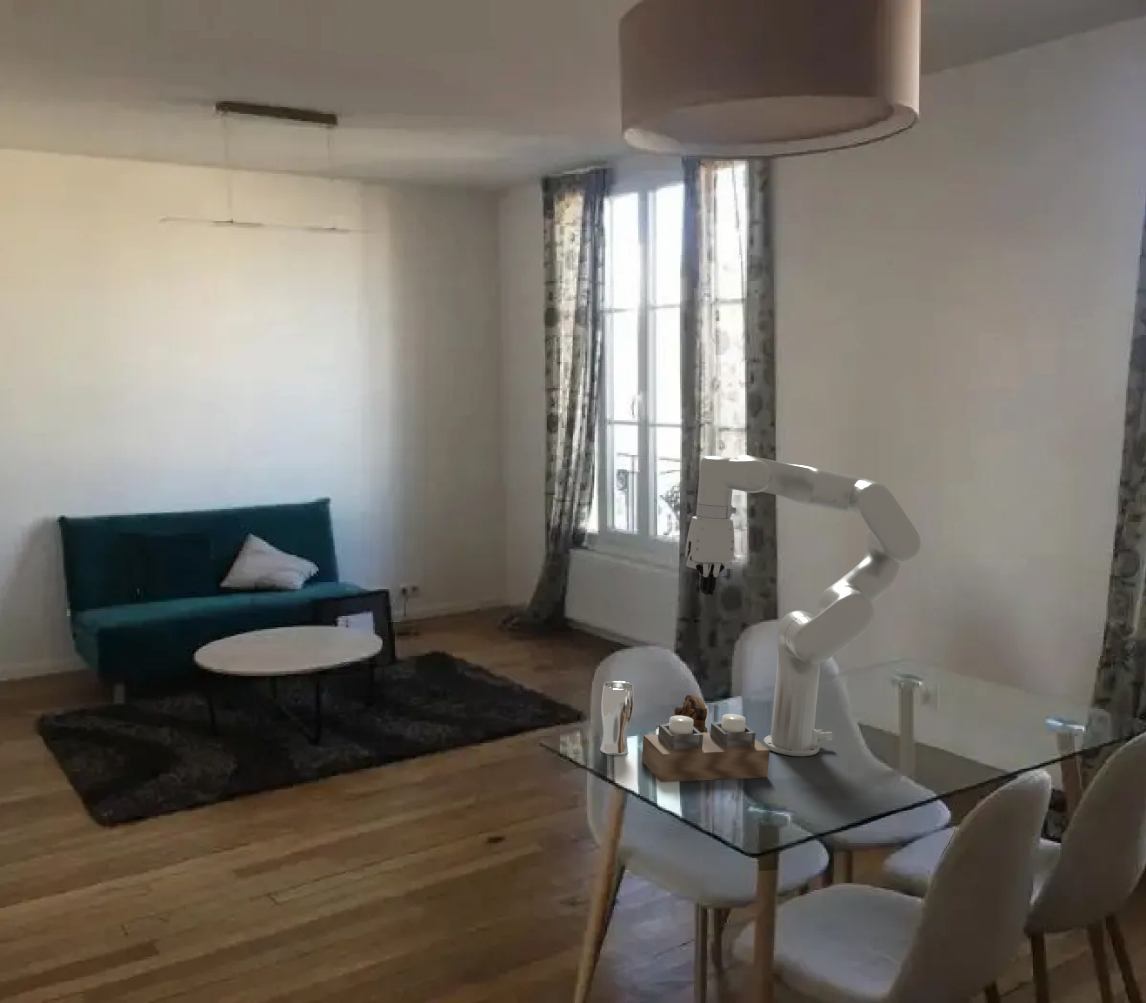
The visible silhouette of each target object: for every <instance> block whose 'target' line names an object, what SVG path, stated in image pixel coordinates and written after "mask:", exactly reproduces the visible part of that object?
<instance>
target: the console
mask: <svg viewBox="0 0 1146 1003" xmlns="http://www.w3.org/2000/svg"><path fill="white" fill-rule="evenodd" d="M721 726H722V722H710V731H709V732H707V733H706V732H704V733H701V732H699V731H698V730H697V729H696V728H695V727H694V726H693V734H672V733H671V732H670V731H669V724H667V723H666V724H658V732H657V734H656V733H655V734H643V738H642V740H643V742H642V754H641V762H642V764H643V765H644V764H645V765H646V766H647V767H646V766H645V765H644V766H645V767H646V768H647V769H648V770H649V771H650V772H651V773H652V774H653V775H654V776H655V778H656V779H657V780H658V781H659V782H660V783H670V782H671V783H672V782H675V783H676V782H692V781H693V782H695V781H696V780H697V781H714V779H715V780H717V779H719V780H734V779H738V780H739V779H759V778H761V779H762V778H768V773H769V764H770V763H769V762H770V751H771V750H769V749H768V748H767V747H765V746H764V744H763V743H762V742H760V741H759V740H758V739H756V731H754V730H752V728H750V727H749V726H748V725H746V724H745V732H730V733H726V732H725V731H724V730H723V729H721Z"/></svg>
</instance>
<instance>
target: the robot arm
mask: <svg viewBox="0 0 1146 1003" xmlns="http://www.w3.org/2000/svg"><path fill="white" fill-rule="evenodd" d="M698 474H699V475H698V486H697V487H698V489H697V500H696V511H695V512H696V515H695V516H692V517H691V520H690V524H689V527H688V528H689V529H688V532H687V538H686V544H685V556H684V557H685V558H686V562H685V566H686V567H688V568H690V569H695V570H696V571H697V572H698V574H699V575H700V582H699V583H700V584H699V588H700V592H701V593H702V594H704V595H705V596H709V595H710V596H714V592H715V590H716V581H717V577H719V575H720V574H721V572H723V571H724V570H727V569H731V568H732V567H733V565H734V564H733V560H734V557H735V528H734V526H735V525H734V520H733V518H731V517H732V514H736V513H737V508H736V507H733V505H732V501H733V499H732V498H733V490H734V491H740V492H746V493H751V494H755V493H761V492H764V493H766V494H767V493H768V494H772V495H775V496H779V497H783V498H786V499H788V500H791V501H793V502H795V503H796V504H797V503H798V504H801V505H805V506H809V507H812V508H818V509H823V510H827V511H828V510H829V511H833V512H834V511H835V512H837V513H843V514H848V515H853V516H858V517H859V518H861V519H862V520H863V522H864V523H865V524H866V526H867V528H868V531H867V535H866V541H867V542H866V550H865V554H864V557H863V558H862V560H861V561H859V563H858V564H857V565H856V566H854V568H853V569H851V570H850V571H849V572H847V573H846V574H845V575H844V576H842V577H841V578H839V579H837V581H835V582H834V583H833V584H831V585H830V586H829V587H827V588H826V589H825V590H823V592H822V593H821V595H820V596H819V597H818V603H817V608H818V610H819V613H818V614H816V615H814V614H812V613H810V612H808V611H805V610H794V611H793V610H792V611H790V612H789V613H787V614H786V615H784V617H782V619H781V620H780V622H779V624H778V626H777V627H778V628H777V634H776V643H777V644H776V646H777V655H776V656H777V660H776V661H777V662H776V663H777V664H776V676H775V677H776V678H775V685H774V695H773V696H774V697H773V698H774V699H773V709H772V721H771V732H770V734H769V735H767V736H765V737H764V738H763V742H762V744H763V745H764V746H765V747H767V748H768V749H769V750H770V751H772V752H774V753H777V754H780V755H785V756H791V757H808V756H813V755H816V754H819V752H820V745H819V743H820V742H821V741H832V740H833V739H834V733H833V732H832V731H823V729H816V728H815V722H816V714H817V712H816V711H817V702H818V701H817V700H818V692H819V683H820V682H819V680H820V664H821V663H823V662H825V661H828V660H830V659H831V658H832V657H834V656H835V655H836V654H838V653H839V652H840V651H842V650H843V649H844V648H845V647H847V646H848V645H849V644H851V643H853V641H855V640H856V639H857V638H858V637H860V636H862V635H863V633H865V632H866V630H867V629H868V628H869V626H870V625H871V623H872V621H873V620H874V615H875V613H874V610H875V609H874V606H873V603H874V602H875V601H877V599H878V598H880V597H881V596H882V595H883V594H885V593H886V591H888V590H889V589H890V587H891V586H893V583H894V582H895V581H896V578H897V576H898V574H899V569H900V566H901V563H907V562H910V561H911V560H913V559H914V558H916V556H917V555H918V554H919V551H920V549H921V537H920V535H919V532H918V530H917V529H916V527H915V525H914V524H913V523H912V521H911V520H910V518H909V516H908V515H907V514H906V513H905V511H904V510H903V508H902V507H901V505H900V504H899V502H898V500H897V499H896V498H895V496H894V494H893V493H892V492H891V491H890V490H889V488H888V487H887V486H886V485H884V484H882V483H880V482H877V481H874V480H871V479H869V478H864V477H860V476H855V475H850V474H845V473H840V472H836V471H831V470H826V469H821V468H816V467H812V466H807V465H799V464H793V463H792V464H791V463H786V462H783V461H778V460H772V459H768V458H763V457H758V456H754V455H748V454H743V455H741V454H740V455H739V456H736V457H735V458H733V459H732V458H731V457H727V456H721V455H705V456H704V457H702V458H701V459H700V464H699V472H698ZM709 564H710V565H709ZM709 566H710V567H709Z"/></svg>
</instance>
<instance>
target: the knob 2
mask: <svg viewBox="0 0 1146 1003" xmlns="http://www.w3.org/2000/svg"><path fill="white" fill-rule="evenodd" d="M746 720H747V719H746V717H745V716H743V715H740V714H735V713H727V714H723V715H722V717H721V723H722V726H721V729H723V730H724V731H725V732H726V733H730V732H745V725H746Z"/></svg>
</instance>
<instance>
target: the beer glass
mask: <svg viewBox="0 0 1146 1003" xmlns="http://www.w3.org/2000/svg"><path fill="white" fill-rule="evenodd" d="M600 707H601V708H600V709H601V723H602V733H603V734H602V741H601V744H600V745H601V746H600V748H599V749H600V752H601V753H602V754H604V753H605V754H604V755H607V754H608V756H612V755H617V756H616V757H619V756H618V755H622V756H625V755H627V754H628V753H629V747H628V732H629V728H630V724H631V719H632V715H633V710H634V685H633V684H632V683H629V682H626V681H620V680H619V681H617V680H613V681H605V682H604V683H603V688H602V696H601V705H600ZM624 754H625V755H624Z"/></svg>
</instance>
